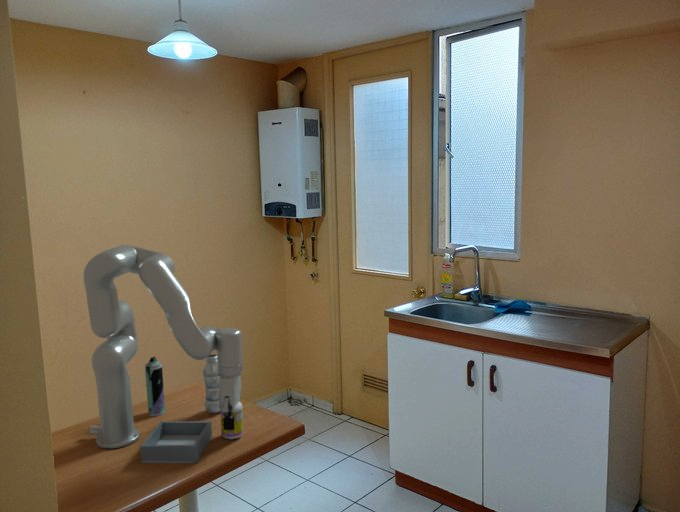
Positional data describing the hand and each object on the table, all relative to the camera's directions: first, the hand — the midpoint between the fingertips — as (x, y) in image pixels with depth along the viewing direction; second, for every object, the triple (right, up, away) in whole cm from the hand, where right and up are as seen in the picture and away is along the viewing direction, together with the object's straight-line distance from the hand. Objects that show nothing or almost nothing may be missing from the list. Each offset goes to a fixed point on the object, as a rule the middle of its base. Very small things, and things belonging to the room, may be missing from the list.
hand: (232, 423), depth 172 cm
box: (-15, -6, -7) cm, 17 cm away
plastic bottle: (-10, -2, +19) cm, 21 cm away
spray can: (-30, -2, +19) cm, 35 cm away
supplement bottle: (0, -4, +1) cm, 4 cm away
